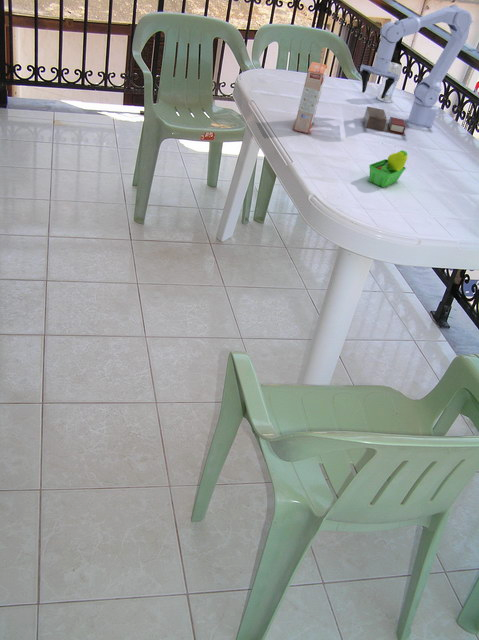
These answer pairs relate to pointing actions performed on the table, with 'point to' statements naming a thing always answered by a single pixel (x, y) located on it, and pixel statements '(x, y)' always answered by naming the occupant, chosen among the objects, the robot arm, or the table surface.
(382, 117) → the book rack
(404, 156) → the fruit basket
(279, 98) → the table surface
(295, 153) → the table surface
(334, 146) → the table surface
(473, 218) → the table surface
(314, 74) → the cracker box
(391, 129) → the red hardcover book
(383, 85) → the beer glass
